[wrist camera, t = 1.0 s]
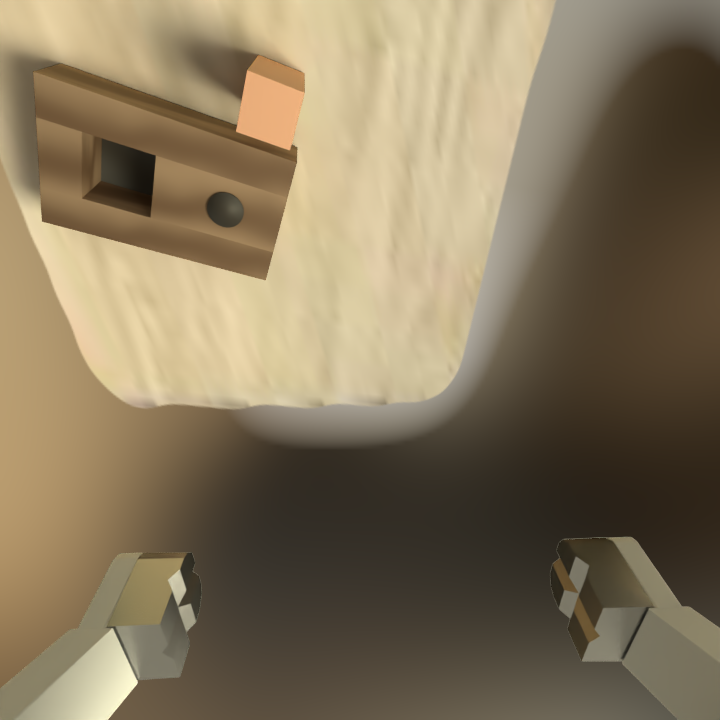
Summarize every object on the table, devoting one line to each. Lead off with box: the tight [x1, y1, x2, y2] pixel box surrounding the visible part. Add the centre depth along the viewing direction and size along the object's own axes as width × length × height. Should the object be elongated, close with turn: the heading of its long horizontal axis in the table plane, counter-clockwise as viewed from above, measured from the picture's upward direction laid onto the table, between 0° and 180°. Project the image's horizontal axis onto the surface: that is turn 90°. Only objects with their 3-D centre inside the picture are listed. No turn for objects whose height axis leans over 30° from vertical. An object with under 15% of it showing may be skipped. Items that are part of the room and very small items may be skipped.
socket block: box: [33, 64, 297, 280], centre depth 42 cm, size 12×20×5 cm, turn 70°
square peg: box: [236, 55, 305, 150], centre depth 36 cm, size 4×4×10 cm
